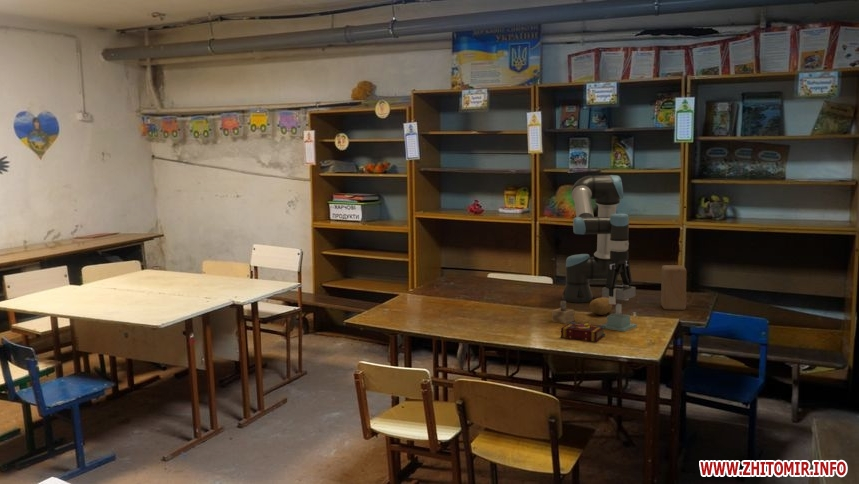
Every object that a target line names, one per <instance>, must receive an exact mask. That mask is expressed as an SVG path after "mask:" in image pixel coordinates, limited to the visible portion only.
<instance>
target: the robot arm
mask: <svg viewBox="0 0 859 484" xmlns="http://www.w3.org/2000/svg"><path fill="white" fill-rule="evenodd" d="M570 196H571V199H572V200H573V202H574V208H575V209H574V210H575V215H576V216H575V217H574V218H572V219H573V220H572V221H573V223H572V228H573V229H572V230H573V231H572V232H573V234H575V235H597V236H596V237H597V240H596V241H597V242H596V245H597V246H596V251H595V252H594V253H593V256H590V254H588V253H580V254H572V255H570V256H568V257H567V258H566V260H565V287H564V290H563V293H562V301H566V303H576V304H577V303H579V304H580V303H583V304H584V303H590V302H591V301H593V300H594V299H593V297H594V295H593V292H592V290H591V287H590V281H597V280H598V281H606V282H605V287H606V288H608V289H609V304H612V305H616V304H617V303H616V301H617V299H616V289H614V288H615V285H617V282H618V278H619V275H620V278H621V281H622V285H623V286H631V285H632V282H633V280H632V275H631V273H632V272H631V267H630V265H631V261H630V260H629V245H630V242H629V232H630V231H629V228H630V220H629V218H630V217H629V215H628V214H627V213H617V206H619V204H620V203H621V202H620V200H623V199H624V187H623V182H622V178H621V176H620V175H617V174H616V175H615V174H614V175H613V174H604V175H602V174H601V175H585V176H582V177H581V178H579V179H577V181H575V183H574V184H573V185H572V187H571V190H570ZM592 200H594V201H595V202H594V203H595V205H597V207H598V209H597V216H594V209H593V205H592ZM628 260H629V261H628ZM629 299H630V298H628V299H625V300H624V301H629Z"/></svg>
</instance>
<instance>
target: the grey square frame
mask: <svg viewBox="0 0 859 484" xmlns="http://www.w3.org/2000/svg"><path fill="white" fill-rule="evenodd" d="M623 285H624V284H622V285H621V284H616V285H615V288H614V289H616V300H620V301H626V300H625V299H628V298H629V299H632V298H634V297H636V289H637V287H636V286H631V285H629V286H623ZM601 289H602V290H601V291H602V292H601V297H605V298H609V289H608V288H606V286H604V287H602V288H601Z"/></svg>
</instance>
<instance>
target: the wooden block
mask: <svg viewBox="0 0 859 484" xmlns="http://www.w3.org/2000/svg"><path fill="white" fill-rule="evenodd" d="M660 278H661V285H660V286H661V287H660V290H661V292H660V297H661V298H660V304H661V307H662V308H663V310H671V311H684V310H686V308H687V305H686V304H687V268H686V267H685V266H684V265H682V264H680V265H679V264H678V265H674V264H673V265H668V264H667V265H666V264H665V265H664V264H663V265H662V266H661V277H660Z"/></svg>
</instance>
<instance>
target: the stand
mask: <svg viewBox="0 0 859 484" xmlns="http://www.w3.org/2000/svg"><path fill="white" fill-rule="evenodd" d="M551 312H552V317H551V318H552V321H551V322H554V323H559V322H560V324H564V323H565V325H567V324H568V323H569V322H575V309H572V308H567V301H564V300H560V307H559V308H556V309H552V311H551Z"/></svg>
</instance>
